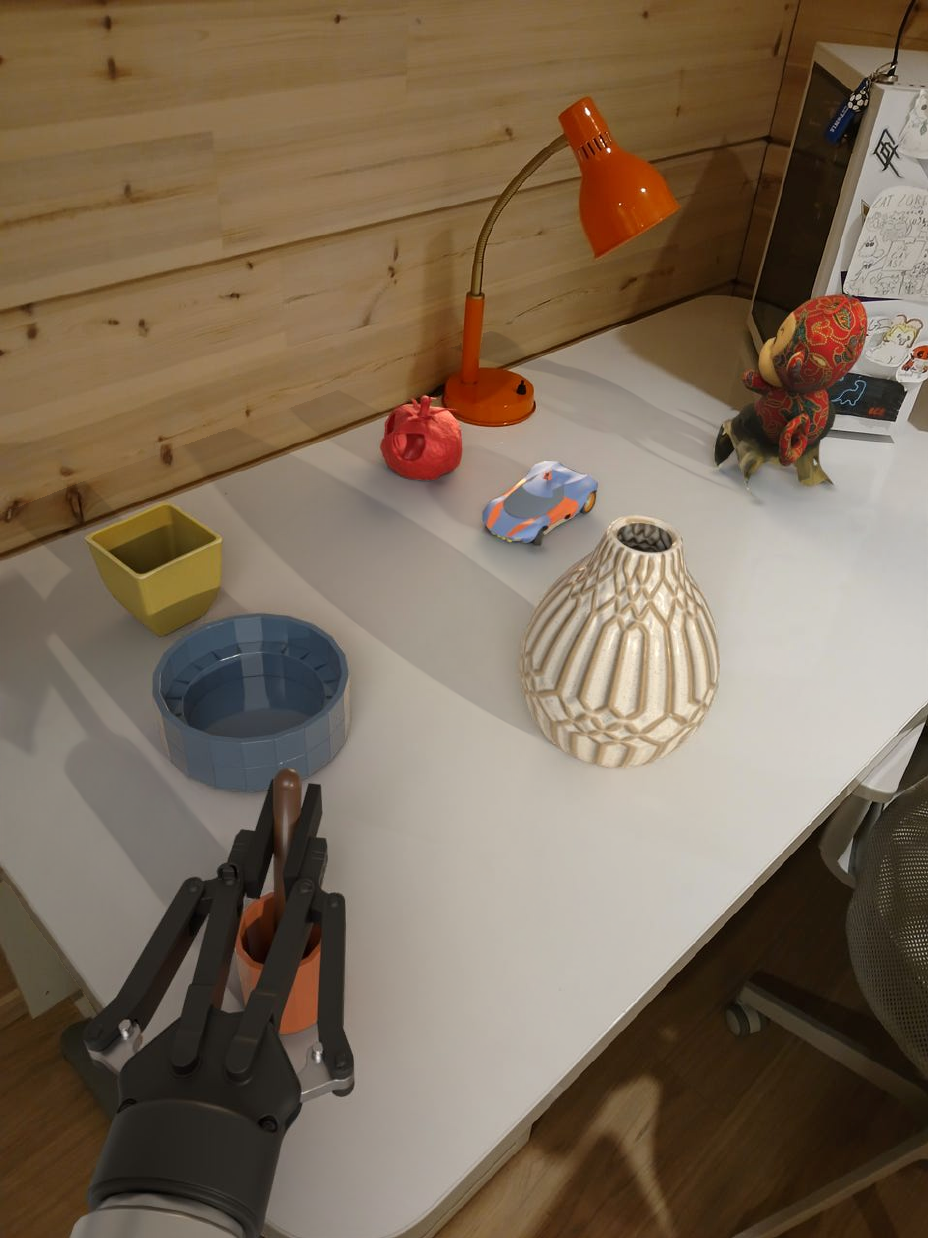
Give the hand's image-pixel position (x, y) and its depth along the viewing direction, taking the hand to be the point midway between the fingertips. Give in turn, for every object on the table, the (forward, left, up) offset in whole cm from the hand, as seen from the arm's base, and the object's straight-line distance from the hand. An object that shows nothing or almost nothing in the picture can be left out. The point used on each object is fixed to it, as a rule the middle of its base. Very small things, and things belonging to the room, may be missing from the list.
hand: (297, 797), depth 58 cm
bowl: (-8, +17, -13) cm, 23 cm away
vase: (+21, +21, -13) cm, 33 cm away
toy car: (+14, +53, -13) cm, 57 cm away
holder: (0, -6, -13) cm, 14 cm away
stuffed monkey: (+42, +66, -13) cm, 80 cm away
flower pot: (-20, +30, -13) cm, 39 cm away
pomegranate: (0, +62, -13) cm, 64 cm away
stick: (0, -6, -11) cm, 13 cm away
